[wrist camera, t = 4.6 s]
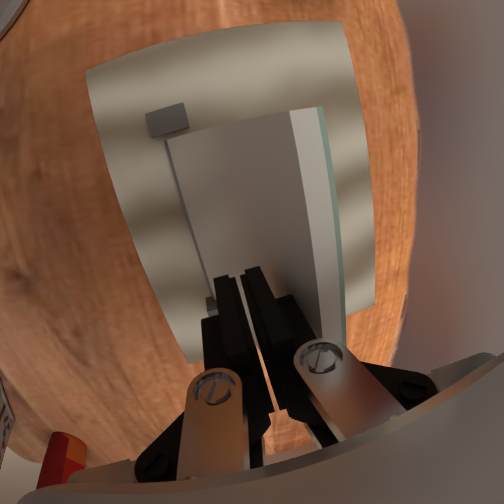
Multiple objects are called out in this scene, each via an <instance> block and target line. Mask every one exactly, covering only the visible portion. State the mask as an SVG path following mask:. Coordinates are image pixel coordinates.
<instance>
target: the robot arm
mask: <svg viewBox="0 0 504 504" xmlns="http://www.w3.org/2000/svg"><path fill="white" fill-rule="evenodd" d="M27 2H28V0H0V39H1V38H2V37H3V36H4V35H5V33H6V32H7V31H8V29H9V28H10V27H11V26H12V24H13V23H14V22H15V20H16V19H17V17H18V16H19V14H20V13H21V12H22V10H23V8H24V7H25V5H26V3H27ZM244 271H245V274H242V275H240V279H241V283H242V287H243V291H244V294H245V298H246V302H247V306H248V309H249V313H250V317H251V320H252V324H253V328H254V331H255V335H256V338H257V342H258V345H259V348H260V351H261V354H262V357H263V360H264V363H265V367H266V370H267V373H268V376H269V379H270V382H271V385H272V388H273V391H274V394H275V397H276V400H277V403H278V406H279V409H280V410H283V409H287V412H288V415H289V417H291V418H292V419H295V420H298V421H300V422H303V423H304V425H305V428H306V429H307V431H308V432H309V434H310V436H311V437H312V439H313V440H314V442H315V443H316V445H317V447H318V448H319V450H317V451H314V452H311V453H308V454H305V455H302V456H299V457H296V458H292V459H289V460H285V461H282V462H278V463H274V464H270V465H266V454H265V441H264V437H263V434H264V433H265V432H266V430H267V429H268V428H269V426H270V425H271V421H270V417H269V413H273V412H275V411H274V407H273V404H272V400H271V397H270V394H269V390H268V387H267V383H266V380H265V377H264V373H263V370H262V366H261V363H260V359H259V356H258V352H257V349H256V346H255V342H254V339H253V336H252V332H251V329H250V326H249V322H248V319H247V316H246V312H245V309H244V306H243V302H242V299H241V295H240V292H239V288H238V285H237V282H236V278H235V277H231V278H229V276H228V274H227V275H223V276H220V277H216V278H213V281H214V288H215V294H216V301H217V308H218V315H215V316H211V317H207V318H203V319H201V332H202V345H203V356H204V368H205V371H204V372H202V373H200V374H199V375H198V376H196V377H195V378H194V379H193V380H192V382H191V383H190V385H189V387H188V390H187V397H186V404H185V411H184V412H183V413H182V414H181V415H180V416H179V417H178V418H177V419H176V420H175V421H174V422H173V423H172V424H171V425H170V426H169V427H168V428H167V429H166V430H165V431H164V432H163V433H162V434H161V435H160V436H159V437H158V438H157V439H156V440H155V441H154V442H153V443H152V444H151V445H150V446H149V447H148V448H147V449H145V450H144V451H143V452H142V453H141V455H140V456H139V457H138V458H137V460H135V461H131V460H130V459H127V460H123V461H119V462H115V463H111V464H106V465H102V466H98V467H93V468H88V469H83V470H79V471H76V472H74V473H73V474H72V475H71V476H69V478H68V480H67V482H66V484H57V485H52V486H47V487H44V488H40V489H37V490H34V491H32V492H30V493H28V494H26V495H24V496H23V497H22V498H21V499H20V500H19V501H18V503H17V504H504V352H503V353H501V354H500V355H498V356H494V355H493V354H491V353H485V352H483V353H478V354H475V355H473V356H470V357H468V358H465V359H462V360H460V361H457V362H454V363H451V364H448V365H445V366H443V367H439V368H436V369H433V370H431V371H430V374H428V375H425V374H421V373H418V372H413V371H407V370H402V369H396V368H391V367H386V366H381V365H376V364H371V363H366V362H361V361H359V360H358V359H357V358H356V357H355V356H354V355H353V354H352V353H351V352H350V351H349V350H348V349H347V347H346V346H345V345H343V344H342V343H340V342H339V341H336V340H334V339H328V338H321V339H317V337H316V335H315V334H314V332H313V330H312V328H311V327H310V325H309V323H308V322H307V320H306V318H305V316H304V315H303V313H302V311H301V309H300V308H299V306H298V304H297V303H296V301H295V299H294V297H293V296H292V295H291V294H290V295H286V296H283V297H279V298H276V299H275V297H274V295H273V293H272V291H271V289H270V287H269V285H268V283H267V280H266V278H265V276H264V274H263V272H262V270H261V268H260V266H256V267H253V268H249V269H245V270H244Z"/></svg>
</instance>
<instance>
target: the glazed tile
mask: <svg viewBox="0 0 504 504" xmlns="http://www.w3.org/2000/svg"><path fill="white" fill-rule="evenodd" d="M164 143H165V146H166V150H167V154H168V157H169V161H170V165H171V168H172V172H173V175H174V179H175V182H176V186H177V189H178V193H179V196H180V199H181V203H182V206H183V209H184V213H185V216H186V219H187V222H188V226H189V229H190V232H191V235H192V238H193V242H194V245H195V248H196V251H197V254H198V257H199V260H200V263H201V266H202V269H203V272H204V275H205V278H206V281H207V284H208V287H209V290H210V293H211V296H212V298H213V299H216V294H215V288H214V281H213V278H216V277H220V276H223V275H227V274H228V276H229V278H231V277H235V278H236V282H237V285H238V288H239V292H240V295H241V299H242V302H243V306H244V309H245V312H246V316H247V319H248V322H249V326H250V329H251V332H252V336H253V339H254V342H255V345H256V347H257V348H258V349H259V350H260V348H259V345H258V342H257V338H256V335H255V331H254V328H253V324H252V320H251V317H250V313H249V309H248V306H247V302H246V298H245V294H244V291H243V287H242V283H241V279H240V275H242V274H245V271H244V270H245V269H249V268H253V267H256V266H260V268H261V270H262V272H263V274H264V276H265V278H266V280H267V283H268V285H269V287H270V289H271V291H272V293H273V295H274V297H275V299H276V298H279V297H283V296H286V295H290V294H291V295H292V296H293V297H294V299H295V301H296V303H297V304H298V306H299V308H300V309H301V311H302V313H303V315H304V316H305V318H306V320H307V322H308V323H309V325H310V327H311V328H312V330H313V332H314V334H315V335H316V337H317V339H321V338H328V339H334V340H336V341H339V342H340V343H342V344H343V345H345V346H346V308H345V285H344V269H343V255H342V242H341V231H340V221H339V212H338V203H337V195H336V187H335V179H334V172H333V165H332V158H331V152H330V146H329V140H328V134H327V128H326V123H325V117H324V112H323V107H322V106H320V107H312V108H305V109H298V110H292V111H286V112H280V113H274V114H269V115H264V116H258V117H254V118H249V119H244V120H240V121H235V122H231V123H226V124H222V125H218V126H214V127H210V128H206V129H203V130H199V131H195V132H192V133H188V134H185V135H181V136H178V137H174V138H171V139H168V140H165V141H164Z"/></svg>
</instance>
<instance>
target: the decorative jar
mask: <svg viewBox="0 0 504 504" xmlns="http://www.w3.org/2000/svg"><path fill="white" fill-rule="evenodd" d="M13 423H14V416H13V413H12V411H11V409H10V406H9V404H8V401H7V398H6V395H5V392H4V390H3V387H2V383H1V380H0V469H1V464H2V461H3V457H4V453H5V450H6V447H7V443H8V440H9V437H10V434H11V430H12V427H13Z"/></svg>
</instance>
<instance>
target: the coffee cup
mask: <svg viewBox="0 0 504 504" xmlns="http://www.w3.org/2000/svg"><path fill="white" fill-rule="evenodd" d="M85 465H86V445H85V444H84V443H83V442H82V441H81V440H79V439H78V438H76V437H74V436H72V435H70V434H67V433H63V432H54V433H53V434H52V436H51V439H50V441H49V444H48V448H47V451H46V454H45V457H44V461H43V464H42V468H41V472H40V475H39V480H38V484H37V487H36V490H37V489H40V488H44V487H47V486H52V485H57V484H66V482H67V480H68V478H69V476H71V475H72V474H73V473H74V472H76V471H79V470H83V469H85Z"/></svg>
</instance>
